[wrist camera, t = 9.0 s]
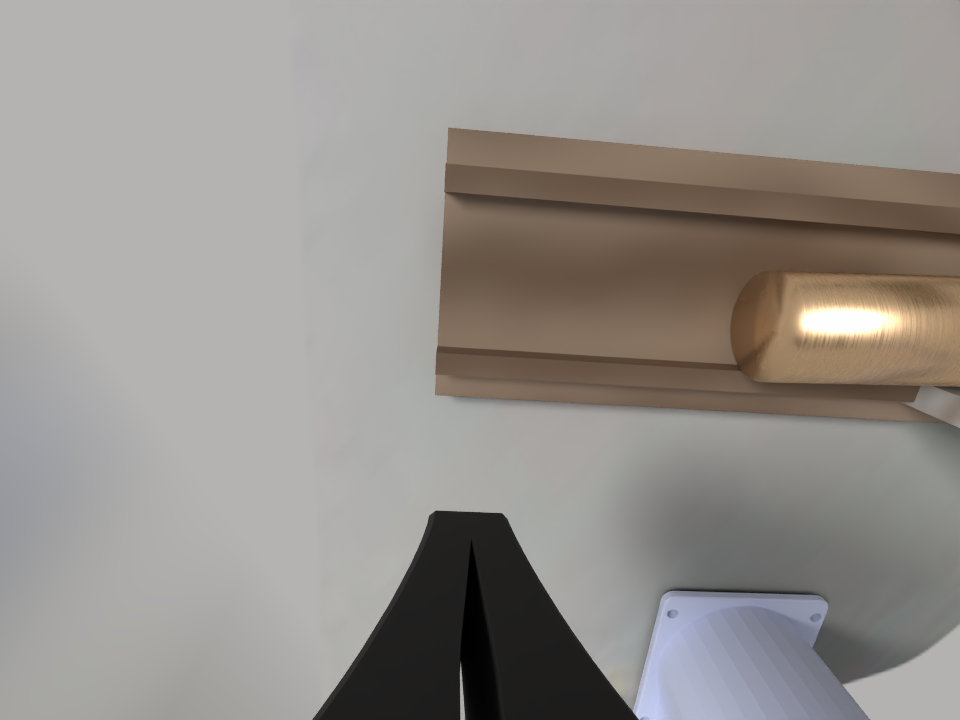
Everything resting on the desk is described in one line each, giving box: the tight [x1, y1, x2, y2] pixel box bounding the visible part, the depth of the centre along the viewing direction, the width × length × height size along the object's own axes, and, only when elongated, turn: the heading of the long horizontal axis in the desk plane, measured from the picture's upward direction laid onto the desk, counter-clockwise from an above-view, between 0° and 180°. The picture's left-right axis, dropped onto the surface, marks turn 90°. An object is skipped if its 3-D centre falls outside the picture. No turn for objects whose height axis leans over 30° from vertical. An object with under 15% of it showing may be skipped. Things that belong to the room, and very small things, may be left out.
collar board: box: [435, 128, 960, 428], centre depth 14 cm, size 9×26×6 cm, turn 86°
